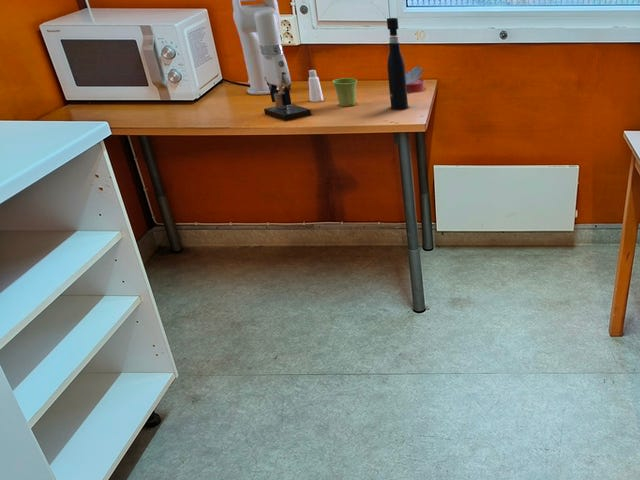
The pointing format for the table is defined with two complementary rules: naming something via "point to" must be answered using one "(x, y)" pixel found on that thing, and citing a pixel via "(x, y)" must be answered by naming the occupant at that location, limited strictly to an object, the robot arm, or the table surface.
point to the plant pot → (346, 91)
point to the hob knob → (279, 101)
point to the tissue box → (414, 80)
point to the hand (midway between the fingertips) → (281, 102)
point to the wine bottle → (396, 69)
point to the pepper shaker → (315, 87)
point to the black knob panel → (288, 112)
